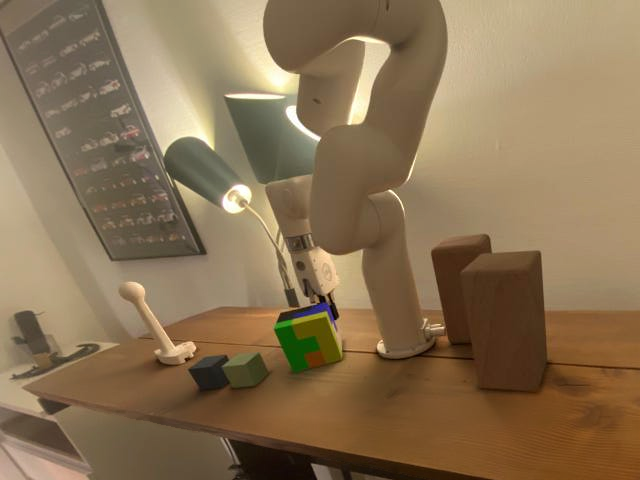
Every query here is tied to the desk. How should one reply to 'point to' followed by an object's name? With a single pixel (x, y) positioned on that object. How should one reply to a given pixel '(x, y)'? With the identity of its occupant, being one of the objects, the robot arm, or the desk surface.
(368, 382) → the desk surface
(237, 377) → the sage green block
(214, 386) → the slate blue block
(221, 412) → the desk surface
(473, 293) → the wooden block
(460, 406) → the desk surface
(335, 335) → the puzzle toy
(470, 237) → the block
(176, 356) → the joystick
